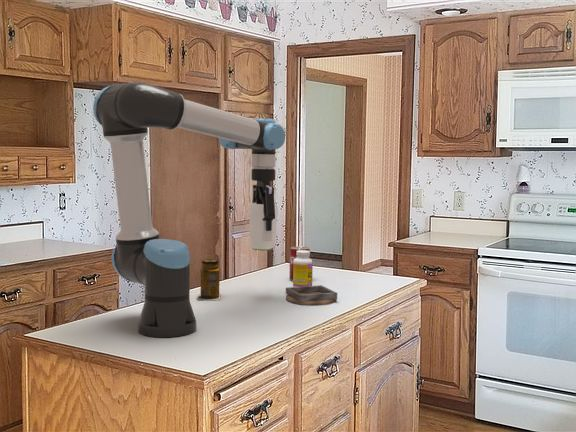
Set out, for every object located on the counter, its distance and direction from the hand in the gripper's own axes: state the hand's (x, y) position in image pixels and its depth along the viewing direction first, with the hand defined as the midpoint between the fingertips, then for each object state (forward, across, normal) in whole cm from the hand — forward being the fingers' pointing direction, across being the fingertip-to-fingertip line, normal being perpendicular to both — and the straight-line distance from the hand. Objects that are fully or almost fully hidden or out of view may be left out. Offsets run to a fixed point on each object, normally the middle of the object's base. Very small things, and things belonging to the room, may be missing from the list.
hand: (262, 239), depth 216 cm
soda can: (+19, +23, -22) cm, 37 cm away
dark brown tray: (+19, -7, -14) cm, 25 cm away
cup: (+4, 0, 0) cm, 4 cm away
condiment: (+19, +6, +16) cm, 26 cm away
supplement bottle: (+19, +10, -18) cm, 28 cm away
